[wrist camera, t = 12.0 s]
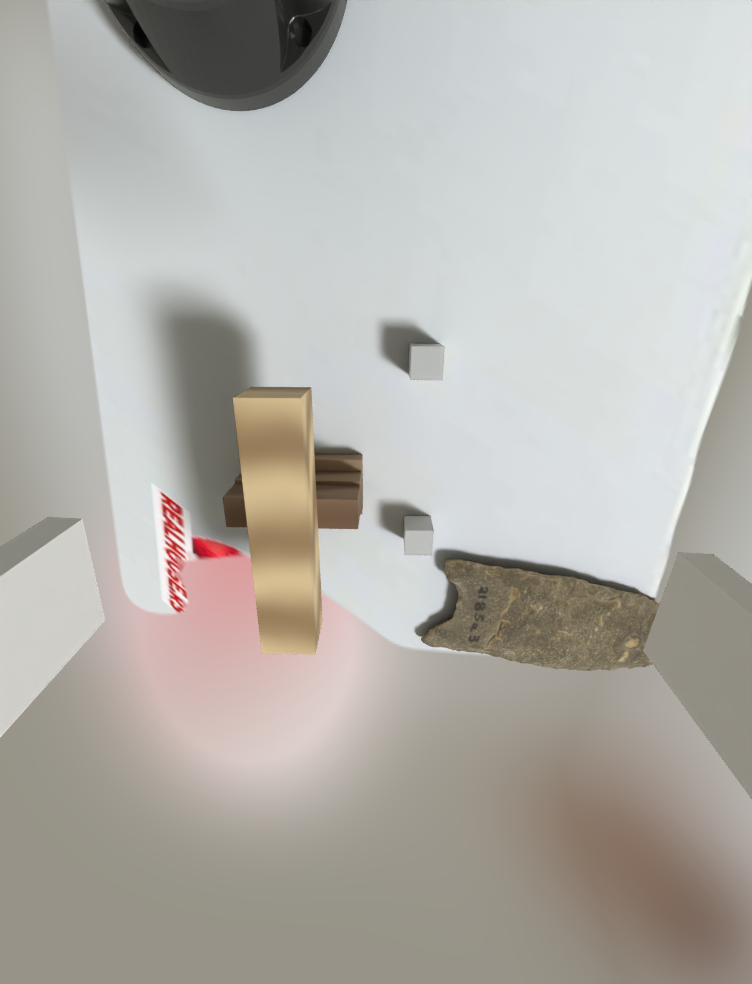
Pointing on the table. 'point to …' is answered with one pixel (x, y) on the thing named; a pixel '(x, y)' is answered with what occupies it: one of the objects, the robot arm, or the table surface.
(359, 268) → the table surface
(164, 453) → the table surface
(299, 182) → the table surface
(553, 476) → the table surface
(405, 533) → the gray blocks
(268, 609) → the brass bar
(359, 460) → the stepped block
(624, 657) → the stone tool
